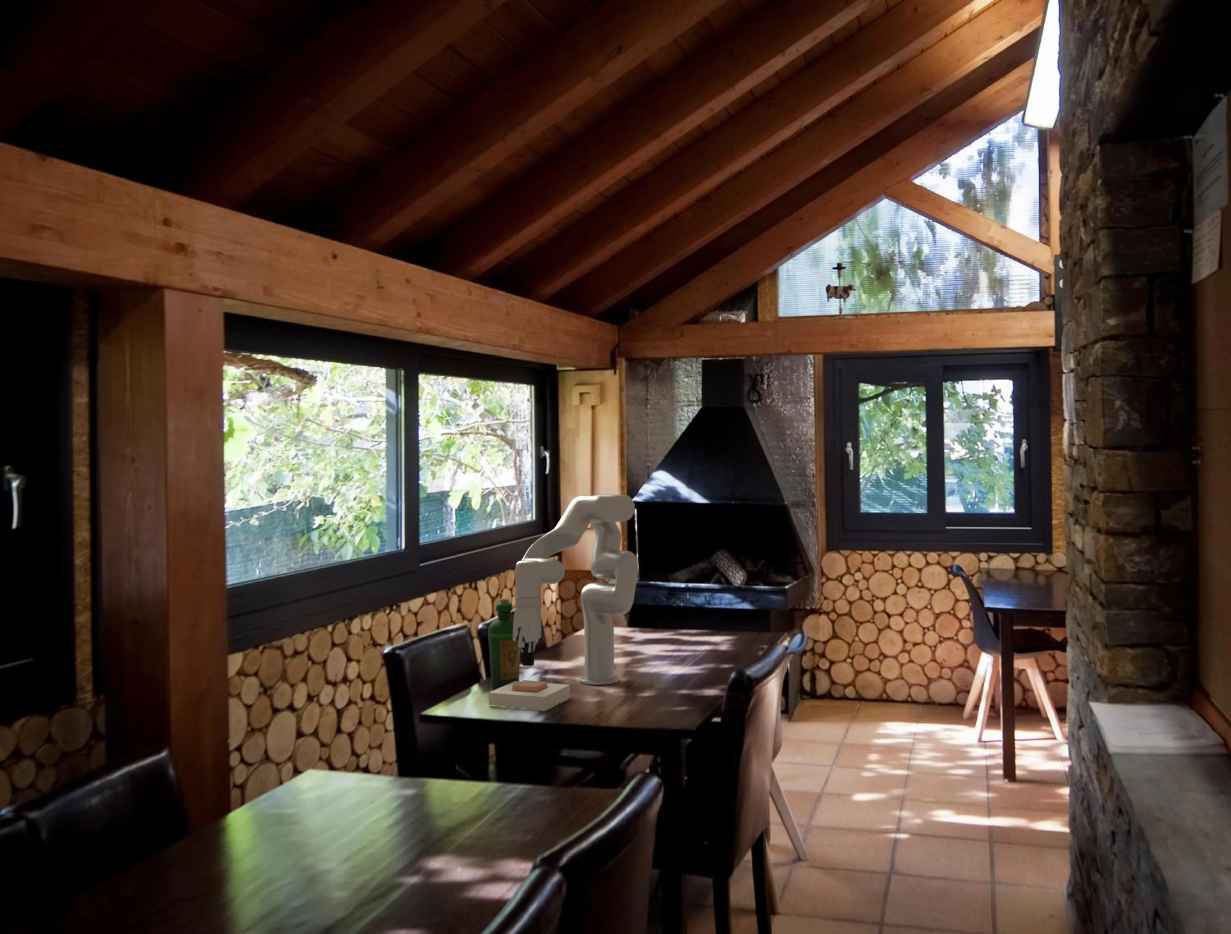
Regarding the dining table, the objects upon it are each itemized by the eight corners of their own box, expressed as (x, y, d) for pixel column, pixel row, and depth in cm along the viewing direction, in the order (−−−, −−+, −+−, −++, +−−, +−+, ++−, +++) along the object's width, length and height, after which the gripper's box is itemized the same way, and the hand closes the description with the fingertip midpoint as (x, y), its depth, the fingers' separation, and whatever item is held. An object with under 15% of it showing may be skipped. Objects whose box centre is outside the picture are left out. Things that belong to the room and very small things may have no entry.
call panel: (516, 694, 311) (516, 680, 311) (570, 698, 304) (569, 684, 304) (488, 706, 295) (488, 692, 295) (544, 711, 289) (544, 696, 289)
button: (524, 693, 305) (524, 680, 305) (547, 695, 302) (547, 681, 302) (512, 698, 298) (512, 685, 298) (535, 700, 295) (535, 687, 295)
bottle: (516, 692, 313) (515, 601, 313) (483, 691, 315) (482, 600, 315) (526, 685, 324) (525, 596, 324) (494, 684, 326) (493, 596, 326)
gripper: (528, 599, 308) (528, 660, 308) (504, 604, 294) (504, 668, 294) (550, 600, 305) (550, 662, 305) (528, 605, 291) (527, 670, 291)
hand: (528, 665), depth 299 cm, fingers closed
